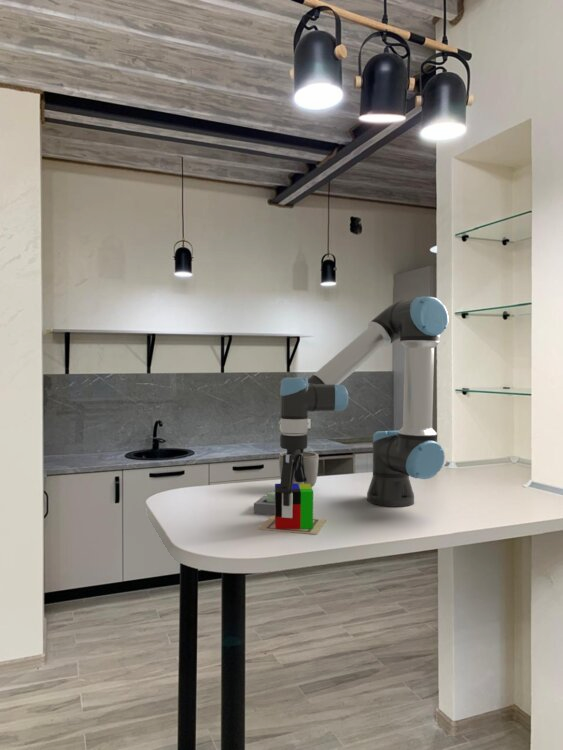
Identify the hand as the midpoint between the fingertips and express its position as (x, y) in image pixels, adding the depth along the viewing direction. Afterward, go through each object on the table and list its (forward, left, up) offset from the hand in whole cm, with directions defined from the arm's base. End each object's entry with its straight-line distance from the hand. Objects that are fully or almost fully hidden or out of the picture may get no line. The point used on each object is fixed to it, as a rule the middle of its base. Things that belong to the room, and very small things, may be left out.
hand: (293, 511), depth 151 cm
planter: (+8, -40, -4) cm, 41 cm away
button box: (+9, -13, -4) cm, 16 cm away
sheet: (0, 0, -4) cm, 4 cm away
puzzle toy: (0, 0, -4) cm, 4 cm away
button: (+9, -13, -2) cm, 16 cm away
